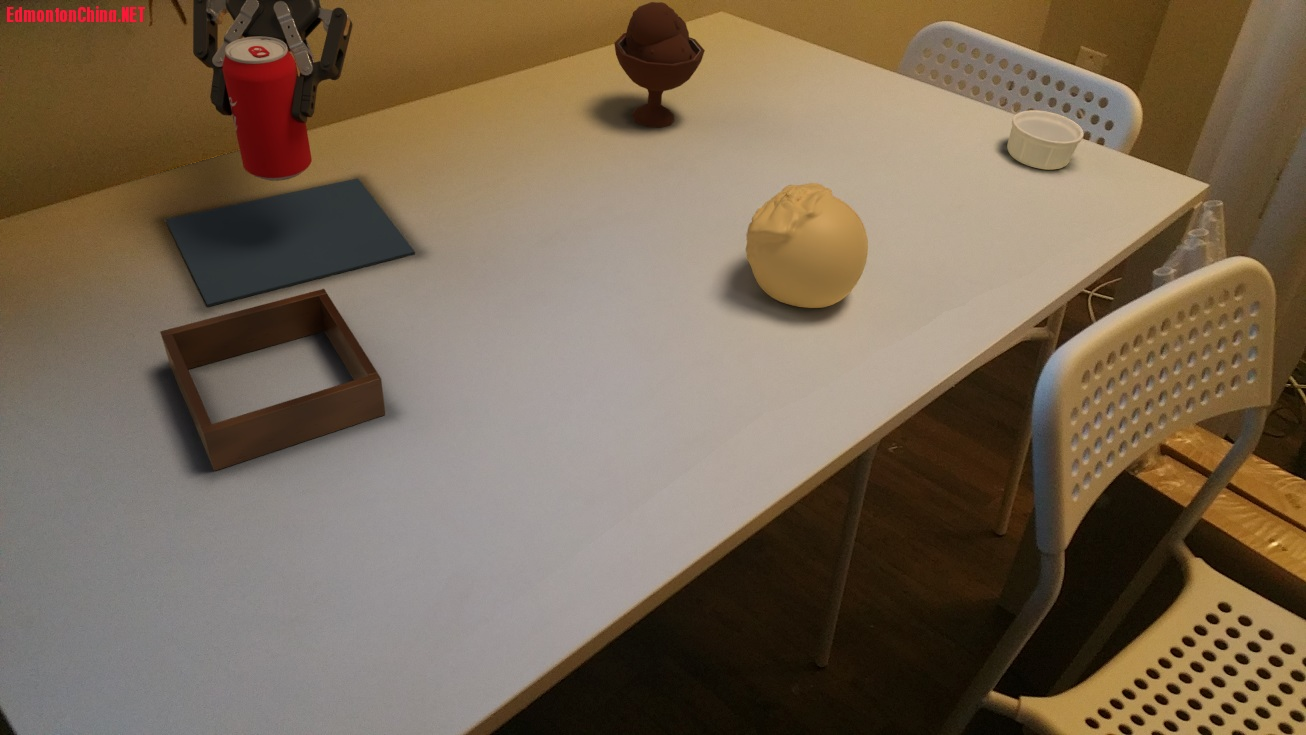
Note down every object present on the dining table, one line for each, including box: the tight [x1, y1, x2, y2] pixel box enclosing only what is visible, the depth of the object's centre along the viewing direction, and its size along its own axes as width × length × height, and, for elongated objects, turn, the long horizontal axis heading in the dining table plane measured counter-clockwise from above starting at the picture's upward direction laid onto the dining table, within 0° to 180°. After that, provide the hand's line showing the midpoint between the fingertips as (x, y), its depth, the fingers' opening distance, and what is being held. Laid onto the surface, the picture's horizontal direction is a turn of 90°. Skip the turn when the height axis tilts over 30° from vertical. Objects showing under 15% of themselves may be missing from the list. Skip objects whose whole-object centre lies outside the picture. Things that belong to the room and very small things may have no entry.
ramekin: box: [1006, 109, 1085, 171], centre depth 127 cm, size 9×9×4 cm
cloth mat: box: [165, 177, 416, 308], centre depth 99 cm, size 20×16×1 cm
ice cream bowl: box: [613, 1, 706, 128], centre depth 122 cm, size 11×11×15 cm
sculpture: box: [745, 182, 869, 309], centre depth 97 cm, size 12×12×11 cm
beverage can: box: [222, 36, 313, 182], centre depth 91 cm, size 6×6×12 cm
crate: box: [160, 288, 386, 472], centre depth 81 cm, size 14×14×4 cm
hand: (261, 116), depth 89 cm, fingers closed on beverage can, 6 cm apart
